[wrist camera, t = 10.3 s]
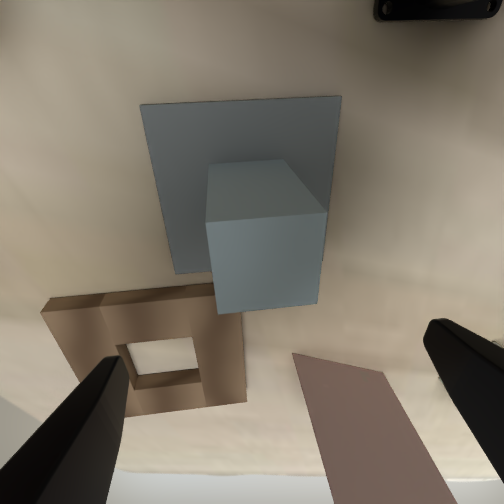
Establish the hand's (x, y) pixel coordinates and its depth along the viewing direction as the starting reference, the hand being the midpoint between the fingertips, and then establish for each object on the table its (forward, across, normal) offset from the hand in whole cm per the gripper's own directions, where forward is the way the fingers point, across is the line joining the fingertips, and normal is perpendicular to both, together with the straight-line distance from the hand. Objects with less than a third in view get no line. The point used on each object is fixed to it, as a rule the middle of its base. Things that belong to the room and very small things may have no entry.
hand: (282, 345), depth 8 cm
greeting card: (+13, -9, +20) cm, 25 cm away
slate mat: (+12, 0, 0) cm, 12 cm away
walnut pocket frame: (+12, +8, +14) cm, 20 cm away
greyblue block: (+12, 0, 0) cm, 12 cm away
